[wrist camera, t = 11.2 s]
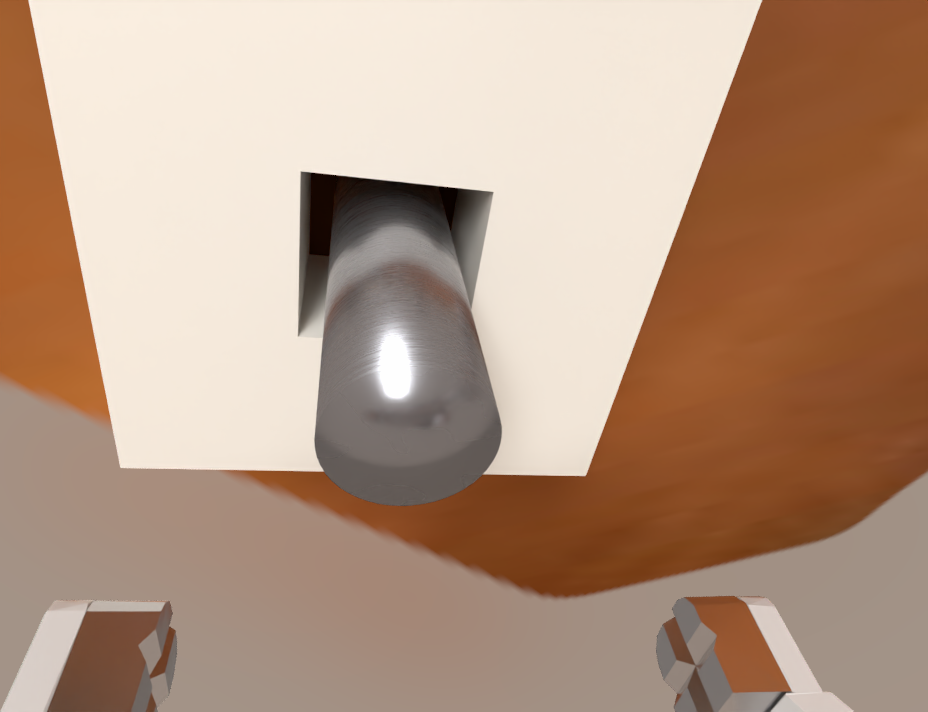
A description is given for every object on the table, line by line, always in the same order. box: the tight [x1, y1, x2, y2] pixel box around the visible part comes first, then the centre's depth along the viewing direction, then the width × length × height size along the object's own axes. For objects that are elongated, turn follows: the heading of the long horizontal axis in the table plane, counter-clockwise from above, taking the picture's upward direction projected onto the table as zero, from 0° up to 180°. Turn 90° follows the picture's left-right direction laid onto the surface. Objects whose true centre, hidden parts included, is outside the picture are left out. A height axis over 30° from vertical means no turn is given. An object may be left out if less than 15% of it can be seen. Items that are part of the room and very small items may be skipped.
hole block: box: [29, 0, 762, 476], centre depth 23 cm, size 18×18×6 cm
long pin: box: [314, 175, 502, 506], centre depth 19 cm, size 4×4×14 cm
